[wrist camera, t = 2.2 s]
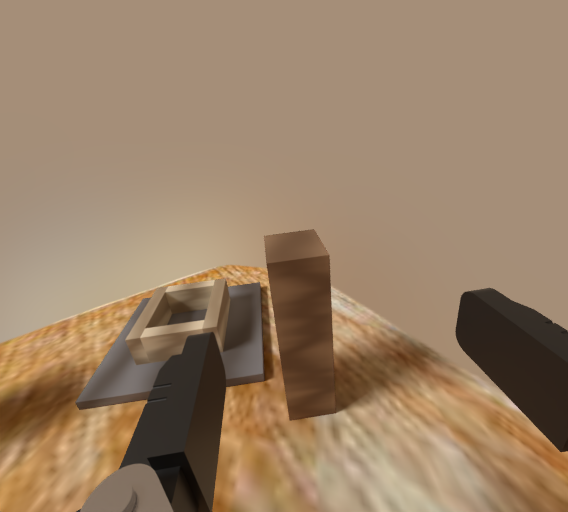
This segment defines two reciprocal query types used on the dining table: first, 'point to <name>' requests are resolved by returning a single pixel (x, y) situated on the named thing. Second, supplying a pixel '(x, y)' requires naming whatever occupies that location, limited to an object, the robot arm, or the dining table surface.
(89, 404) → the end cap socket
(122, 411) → the dining table surface
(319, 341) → the walnut slat
